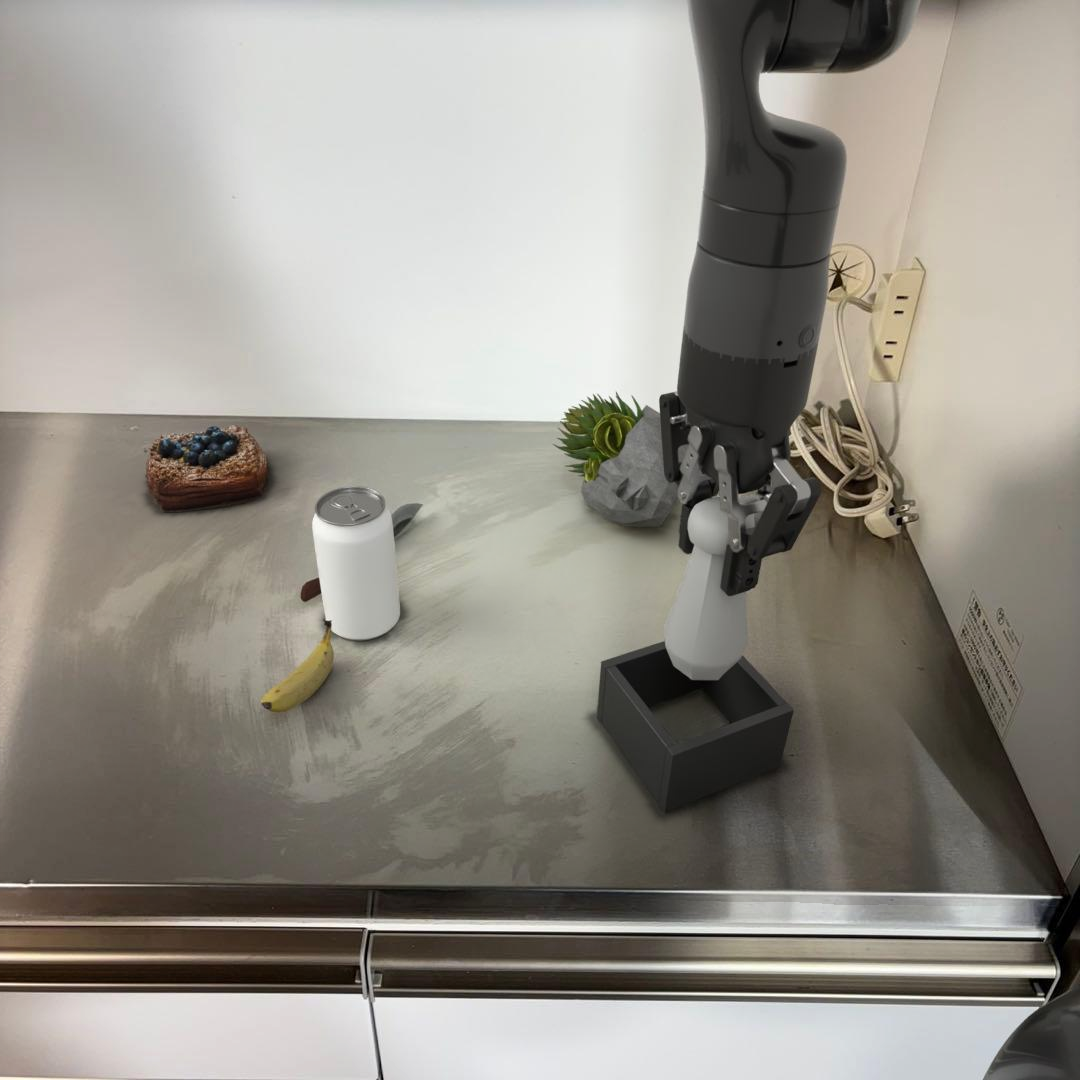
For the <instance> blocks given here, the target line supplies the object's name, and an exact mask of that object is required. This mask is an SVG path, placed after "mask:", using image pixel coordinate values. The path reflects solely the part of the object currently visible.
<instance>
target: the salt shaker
mask: <svg viewBox="0 0 1080 1080" xmlns="http://www.w3.org/2000/svg"><path fill="white" fill-rule="evenodd" d="M752 527H755V523H754V514H751V515H748V516H747V518H746V529H749V528H752ZM687 529H688V533H689V538H690V541H691V542H692V543H693V544H694V548H693V551H692V553H691V554H690V557H689V559H688V562H687V566H686V568H685V570H684V573H683V576H682V579H681V581H680V584H679V587H678V589H677V592H676V595H675V598H674V600H673V602H672V605H671V608H670V611H669V613H668V616H667V618H666V621H665V624H664V627H663V640H664V641H665V646H666V649H667V652H668V654H669V656H670V659H671V661H672V663H673V666H674V667H676V668H677V669H678V670H680V671H681V672H682V673H684V674H685V675H686V676H688V677H689V678H690V679H692V680H719V679H720V678H721V677H722V675H723V674H724V673H725V672H727V671H728V670H729V669H730V668H731V667H732V666H733V665H734V664H735V663H736V662H738V661H739V660H740V659H741V657H742V655H743V656H744V654H745V653H744V652H745V651H746V650H747V649H746V648H747V647H748V643H749V634H748V633H749V632H748V630H749V629H748V611H747V591H746V592H743V593H740V594H737V595H734V596H727V595H726V594H725V593H724V592H723V591H722V590H721V588H720V585H721V578H722V572H723V565H724V559H725V552H726V546H727V545H729V535H728V517H727V515H725V514H723V513H722V512H721V510H720V496H714V497H712V498H708V499H706V500H704V501H701V502H699V503H698V504H696V505H695V506H694V508H693V509H692V511H691V513H690V516H689V519H688V528H687Z"/></svg>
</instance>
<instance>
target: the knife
mask: <svg viewBox="0 0 1080 1080" xmlns="http://www.w3.org/2000/svg"><path fill="white" fill-rule="evenodd" d="M423 506H424V504H423V503H419V502H412V503H405V504H403V505H400V506H399V507H398V508H396V510H395V511H394V512H392V514H391V517H392V523H393V533H394V538H396V537H397V536H398V535H399V534H400V533H401V532H402V531H403V530H404V529H405V528H406V527H407V525H408V524H409V523H410V522H411V521H412V520H413V519H414V517H415V516H416V515H417V513H418V512H419V511H420V509H421V508H422V507H423ZM319 595H322V593H321V586H320V580H319V576H318V577H316V578H313V579H310V580H308V581H306V582H305V583H304V584H303V585H302V587H301V590H300V599H301V601H302V603H303V602H304V603H307V602H309V601H311V600H312V599H314V598H316V597H318V596H319Z"/></svg>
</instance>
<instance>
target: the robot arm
mask: <svg viewBox="0 0 1080 1080" xmlns="http://www.w3.org/2000/svg"><path fill="white" fill-rule="evenodd" d="M921 2H922V0H686V6H687V14H688V16H687V17H688V24H689V29H690V35H691V40H692V46H693V51H694V52H693V53H694V57H695V61H696V68H697V73H698V80H699V86H700V94H701V95H700V96H701V104H702V115H703V126H704V173H703V186H702V195H701V203H700V211H699V212H700V213H699V222H698V230H697V241H696V247H695V253H694V257H693V261H692V265H691V269H690V272H689V276H688V277H689V278H688V283H687V290H686V299H685V310H684V319H683V327H682V329H683V330H682V338H681V346H680V347H681V348H680V356H679V365H678V375H677V385H676V390H675V391H672V392H671V391H670V392H666V393H662V394H660V396H659V399H658V404H659V407H658V408H659V413H660V421H661V436H662V450H663V465H664V475H665V478H666V480H667V481H668V482H669V483H672V482H676V484H677V486H678V491H677V495H678V498H679V501H678V502H680V503H681V509H680V518H679V527H678V533H679V536H678V538H679V539H678V548H679V549H680V550H681V551H682V552H683V553H684V554H686V555H691V553H692V551H693V548H694V544H693V543H692V542H691V541H690V538H689V533H688V529H687V528H688V519H689V516H690V513H691V511H692V509H693V508H694V506H695V505H696V504H698V503H699V502H701V501H704V500H706V499H708V498H714V497H720V510H721V512H722V513H723V514H725V515H727V517H728V535H729V545H727V546H726V552H725V559H724V565H723V572H722V578H721V585H720V588H721V590H722V591H723V592H724V593H725V594H726V595H727V596H734V595H737V594H740V593H743V592H746V593H747V592H749V591H751V590H752V589H755V588H756V586H757V585H758V583H759V577H760V573H761V569H762V568H761V567H762V562H763V559H764V558H766V557H769V556H773V555H776V554H780V553H785V552H789V551H791V550H792V549H793V547H794V545H795V543H796V541H797V540H798V538H799V535H800V534H801V532H802V530H803V528H804V526H805V524H806V522H807V521H808V519H809V517H810V515H811V514H812V512H813V509H814V508H815V506H816V504H817V502H818V500H819V499H820V497H821V494H822V486H821V485H822V484H821V483H820V480H818V479H817V478H816V477H814V476H813V477H808V478H804V479H803V478H802V477H801V476H800V474H799V473H798V472H797V471H796V470H795V468H794V467H793V465H792V464H791V463H790V462H791V456H792V451H791V444H790V430H791V427H792V426H793V424H794V423H795V421H796V420H797V419H798V417H799V416H800V415H801V414H802V412H804V410H805V408H806V406H807V403H808V399H809V394H810V388H811V383H812V378H813V374H814V368H815V362H816V357H817V352H818V347H819V341H820V336H821V331H822V326H823V321H824V316H825V311H826V306H827V305H826V304H827V298H828V294H829V293H828V292H829V280H830V279H829V277H830V275H829V274H830V273H829V272H830V262H831V261H830V260H831V254H832V253H831V251H832V246H833V242H834V237H835V231H836V227H837V221H838V215H839V209H840V205H841V200H842V196H843V190H844V187H845V186H844V185H845V179H846V173H847V163H848V154H847V148H846V145H845V143H844V141H843V140H842V138H840V137H839V136H838V135H837V134H836V133H835V132H834V131H831V130H830V129H827V128H825V127H823V126H819V125H817V124H813V123H809V122H805V121H801V120H797V119H793V118H788V117H784V116H782V115H777V114H774V113H772V112H770V111H767V110H766V109H765V107H764V104H763V102H762V99H761V95H760V76H761V74H822V75H823V74H824V75H831V74H832V75H837V74H838V75H843V74H844V75H845V74H853V73H859V72H862V71H866V70H868V69H872V68H874V67H877V66H878V65H880V64H881V63H883V62H886V61H888V60H889V59H890V58H891V57H893V56H894V55H895V54H896V53H897V52H899V50H900V49H901V48H902V46H904V44H905V43H906V41H907V40H908V37H909V35H910V33H911V31H912V29H913V27H914V25H915V22H916V18H917V15H918V12H919V9H920V5H921ZM686 444H687V446H688V447H687V450H686V452H685V455H684V458H683V460H682V461H681V462H679V459H678V449H679V447H680V446H682V445H686ZM751 492H755V493H754V494H751V495H747V496H743V497H739V495H743V494H747V493H751ZM718 495H719V496H718ZM751 514H754V523H755V527H752V528H749V529H746V518H747V516H748V515H751ZM982 1080H1080V982H1079V983H1078V984H1077V985H1075V986H1073V987H1072V988H1070V989H1069V990H1066V991H1065V992H1064V993H1062V994H1060V995H1059V996H1056V997H1055V998H1054V999H1052V1000H1050V1001H1048V1002H1046V1003H1045V1004H1043V1005H1041V1006H1040V1007H1038V1008H1037V1009H1036V1010H1035V1011H1033V1012H1032V1013H1030V1014H1029V1015H1028V1016H1027V1017H1026V1018H1025V1019H1024V1020H1023V1021H1021V1023H1020V1024H1019V1025H1018V1026H1017V1027H1016V1028H1015V1029H1014V1030H1013V1031H1012V1033H1011V1034H1010V1035H1009V1036H1008V1038H1007V1039H1006V1040H1005V1041H1004V1043H1003V1044H1002V1046H1001V1047H1000V1048H999V1050H998V1051H997V1053H996V1055H995V1056H994V1058H993V1060H992V1061H991V1063H990V1064H989V1067H988V1068H987V1070H986V1072H985V1074H984V1076H983V1078H982Z"/></svg>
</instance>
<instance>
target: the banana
mask: <svg viewBox="0 0 1080 1080" xmlns="http://www.w3.org/2000/svg"><path fill="white" fill-rule="evenodd" d="M331 621H332V620H330V621H327V620H326V618H323V619H322V622H324V624H323V625H324V626H326V628H325V633H324V634H323V637H322V639H321V641H320V642H319V643H318V644H317V646H316V647H315V648H314V650H312V652H311V653H310V654H309V656H308V657H307V658H306V659H304V660H303V662H301V664H300V665H298V667H296V668H295V669H294V670H293V671H292V672H291V673H290V674H289V675H288V676H287V677H286V678H285V679H283V680H281V681H280V682H279V683H277V684H276V685H274V686H273V687H272V688H271V689H270V690H268V691H267V692H266V693H265V694H264V695H263V697H262V699H261V701H260V704H261V706H262V707H263V708H264V709H266V710H267V711H270V712H272V713H284V712H286V711H289V710H292V709H293V708H295V707H297V706H299V705H301V704H302V703H303V702H304V701H306V700H308V699H309V698H310V697H311V696H312V695H313V694H314V693H315V692H316V691H317V690H318V689H319V688H320V687H321V686H322V684H323V683H324V682H325V680H326V679H327V677H328V675H329V674H330V672H331V670H332V667H333V663H334V659H335V658H334V656H335V654H334V649H333V645H332V642H331V637H332V636H331V635H332V631H331V626H332V624H331Z"/></svg>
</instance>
